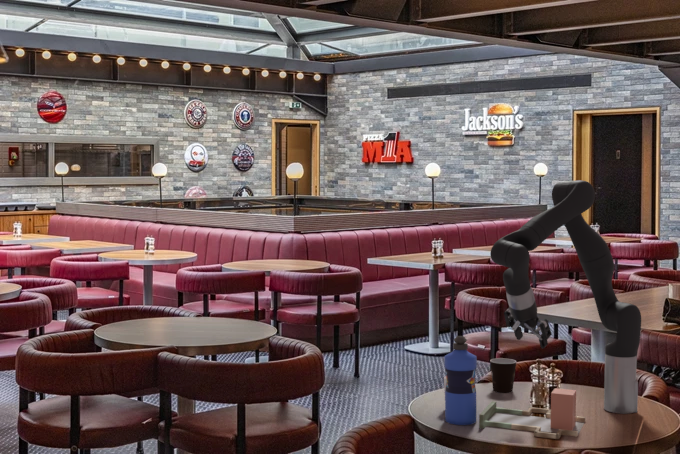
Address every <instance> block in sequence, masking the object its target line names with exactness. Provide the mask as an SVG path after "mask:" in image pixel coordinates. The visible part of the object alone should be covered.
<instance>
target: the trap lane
mask: <svg viewBox="0 0 680 454" xmlns="http://www.w3.org/2000/svg"><path fill="white" fill-rule="evenodd" d="M532 413H536V414H545V417H543V416H534V415H531V414H532ZM478 416H479V417H478V418H479V419H478V421H479V423H478V428H479V429H481V428H482V429H485V428H486V427H493V428H501V429H502V428H503V429H510V430H518V431H526V432H533V433H534V434H533V436H534V437H538V438H546V439H552V440H554V439H555V440H560V439H561V437H562V436H568V437H576V438H577V437H578V436H579V434H580V432H581V430H582V428H583V426H584V425H585V422H586V416H578V415H576V424H575V427H574V428H573V430H563V429H554V428H551V408H544V407H543V408H540V407H532V406H529V407H528V409H527V410H525V409H515V408H506V407H498V406H497V401H496V400H492V401H491V402H490V403H489V404H488V405H487V406H486V407H485V408H484V409H483V410H482V411H481V412H480V413H479V415H478Z"/></svg>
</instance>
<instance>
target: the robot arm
mask: <svg viewBox="0 0 680 454" xmlns="http://www.w3.org/2000/svg"><path fill="white" fill-rule="evenodd" d="M551 199H552V203H553V207H550V208H548V209H546V210H544V211H542V212H541V213H538V214H536V215H535V216H532V218H531V219H529V220H528V221H527V222H525V223H524V224H523V225H522V226H521V227H520V228H518V230H517V229H516V230H515V231H513V232H511V233H508V234H506V235H505V236H503V237H501V238H499V239H498V240H497V241H495V242H494V244H493V245H492V247H491V249H490V253H489V254H490V255H489V256H490V259H491V261H493V263H495V264H496V265H499V266H501V267H504V268H505V267H506V268H507V269H505V270H504V272H503V273H502V280H503V285H504V288H505V293H506V300H507V304H508V308H507V309H506V310H505V311H504V312H503V315H504V319H505V320H504V321H505V325H506V327H508V328H511V330H512V331H513V334H514V336H515V338H516V340H517V341H520V340H521V339H522V338H523V337H524V334H523V330H522V329H527V330H528V331H530V332H531V333H532V334H533V335H535V336H536V337H537V338H538V342H539V345H540V348H541V349H545V348H546V347H547V345H549V342H548V339H549V338H551V336H552V331H551V327H550V325H549V320H548V319H547V318H545V319H543V320H542V319H540V318H539V317H538V307H537V303H536V302H537V301H536V298H535V294H534V291H533V288H532V286H531V281H530V278H529V268H530V266H529V265H530V257H531V256H530V255H531V254H530V252H532V251H534V250H536V248H538V247H539V246H540V245H541V244H543V243H544V241H546V239H548V238H549V237H550V236H551V235H552V234H553V233H555V232H556V231H557V230H558V229H560V228H561V227H563V226H564V227H565V229H566V231H567V233H568V236H569V238H570V240H571V243H572V245H573V247H574V249H575V252H576V255H577V258H578V259H579V263H580V265H581V268H582V270H583V272H584V274H585V277H586V279H587V282H588V285H589V288H590V289H591V293H592V296H593V298H594V303H595V306H596V311H597V313H598V316H599V320H600V322H601V324H602V325H603V327H604V328H606V329H607V330H609V331H612V332H615V333H616V337H615V340H614V341H612V342H609V343H607V344H605V347H604V348H605V349H604V354H605V355H604V383H603V384H604V385H603V387H604V388H603V389H604V391H603V393H604V394H603V409H604V410H605V411H606V412H609V413H614V414H624V415H625V414H632V413H638V403H639V402H638V401H639V398H638V397H639V396H638V395H639V382H638V381H639V380H637V360H638V358H637V357H638V349H639V346H640V343H641V332H642V313H641V310H640V308H639V307H638V306H637V305H635V304H632V303H628V302H623V301H622V302H621V301H620V300H619V299H618V297H617V295H616V294H615V290H614V288H613V283H612V281H613V276H614V271H615V262H614V259H613V256H612V253H611V250H610V248H609V246H608V244H607V242H606V240H604V238H603V237H602V236H601V235H600V234H599V233H598V232H597V231H596V230H595V229H593V228H592V226H590V225H589V224H588V222H587V221H586V220H585V218H584V216H583V213H584V212H587V211H588V210H589V209H590V208H591V207H592V206H593V204H594V202H595V199H596V192H595V188H594V187H593V185H592V184H591V183H590V182H589V181H586V180H580V179H578V180H565V181H560V182H557V183H555V184H554V185H553V187H552V189H551ZM536 327H537V328H536ZM535 328H536V329H535ZM540 333H541V334H540Z"/></svg>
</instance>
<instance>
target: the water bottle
mask: <svg viewBox="0 0 680 454" xmlns="http://www.w3.org/2000/svg"><path fill="white" fill-rule="evenodd" d="M453 341H454V342H452V349H453V350H452V351H451V352H449V353H447V354H446V355H444V362H443V363H444V370H445V376H446V379H447V382H446V390H445V393H444V401H445V403H444V407H445V410H444V411H445V413H444V414H445V417H444V419H445V422H446V423H448V424H450V425H456V426H457V425H458V426H469V425H473V424H476V423H477V390H476V389H477V388H476V382H475V381H476V380H475V379H476V371H477V367H478V366H477V364H478V363H477V361H478V360H477V355H475V354H473V353H471V352H469V351H468V348H469V345H468V344H469V343H467V341H468V339H467V338H466V337H465V336H464V335H456V337H455V338H454V339H453Z"/></svg>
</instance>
